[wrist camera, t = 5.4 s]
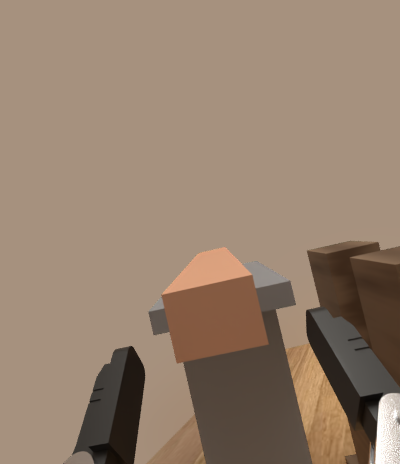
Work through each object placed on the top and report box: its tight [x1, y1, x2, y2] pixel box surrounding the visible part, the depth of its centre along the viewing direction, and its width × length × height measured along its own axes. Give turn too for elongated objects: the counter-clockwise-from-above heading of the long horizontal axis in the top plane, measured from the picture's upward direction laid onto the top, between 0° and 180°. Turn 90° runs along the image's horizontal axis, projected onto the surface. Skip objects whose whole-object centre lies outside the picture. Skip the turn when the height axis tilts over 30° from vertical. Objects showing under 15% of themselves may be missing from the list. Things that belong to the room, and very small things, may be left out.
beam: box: [161, 247, 269, 363], centre depth 24 cm, size 26×4×3 cm, turn 177°
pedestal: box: [149, 261, 312, 464], centre depth 28 cm, size 12×16×32 cm
